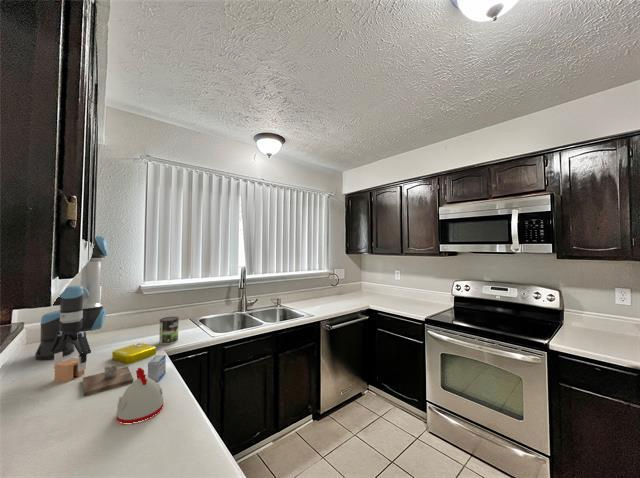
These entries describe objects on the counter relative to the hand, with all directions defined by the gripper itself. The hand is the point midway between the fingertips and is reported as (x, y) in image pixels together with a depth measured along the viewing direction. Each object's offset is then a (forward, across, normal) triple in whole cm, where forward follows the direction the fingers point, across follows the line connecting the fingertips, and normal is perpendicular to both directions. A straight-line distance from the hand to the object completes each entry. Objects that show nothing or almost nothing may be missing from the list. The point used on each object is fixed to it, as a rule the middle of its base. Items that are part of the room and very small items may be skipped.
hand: (69, 368), depth 120 cm
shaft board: (+4, +20, +1) cm, 20 cm away
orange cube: (+4, 0, 0) cm, 4 cm away
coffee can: (+4, +9, +48) cm, 49 cm away
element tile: (+4, +8, +26) cm, 27 cm away
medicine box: (+5, +38, +9) cm, 39 cm away
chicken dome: (+5, +52, -13) cm, 54 cm away
